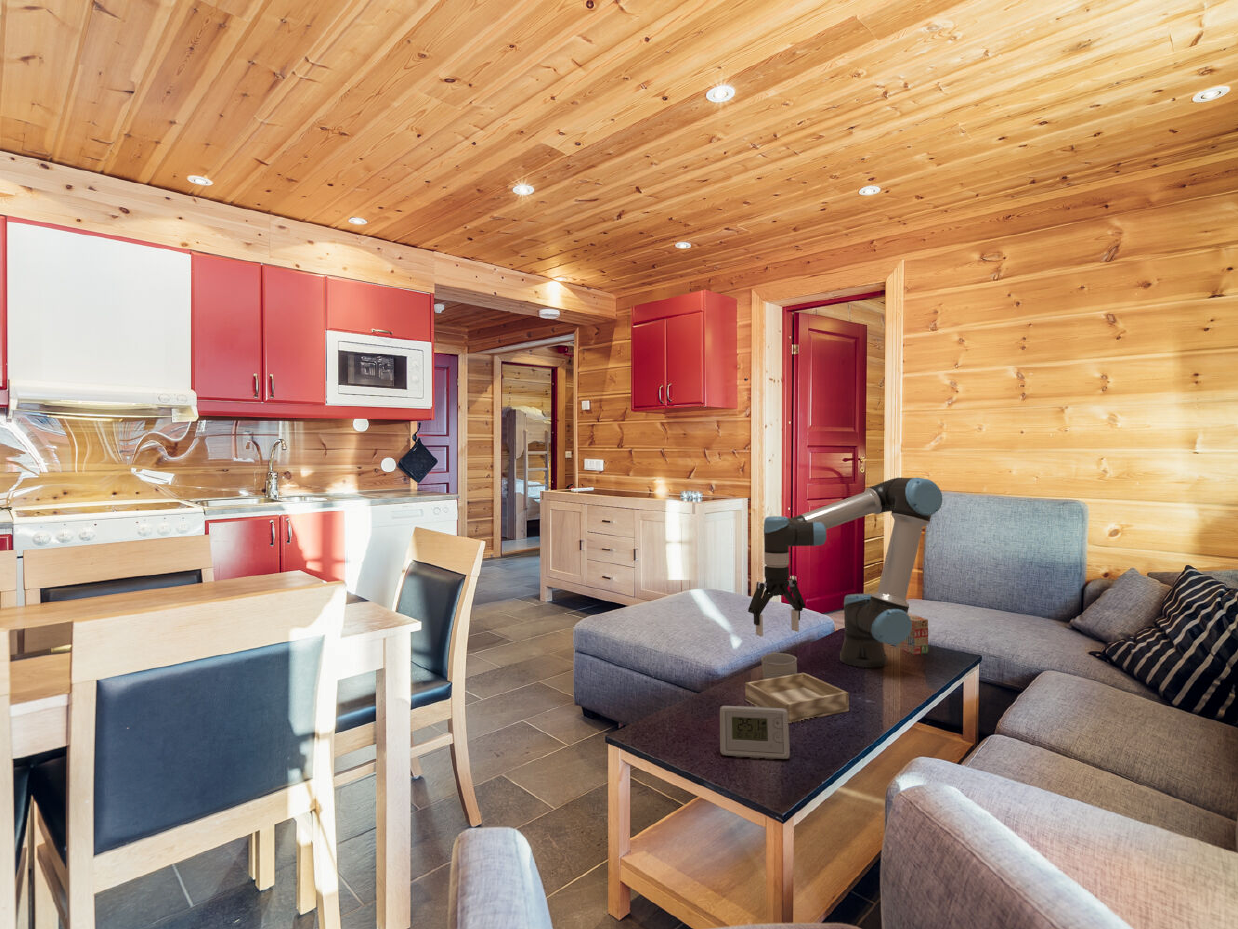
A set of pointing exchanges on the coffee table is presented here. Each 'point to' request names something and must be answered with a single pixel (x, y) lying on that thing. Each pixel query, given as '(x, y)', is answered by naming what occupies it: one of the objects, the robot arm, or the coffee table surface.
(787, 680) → the walled box
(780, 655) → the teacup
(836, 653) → the coffee table surface
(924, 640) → the stack of blocks
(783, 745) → the digital clock
